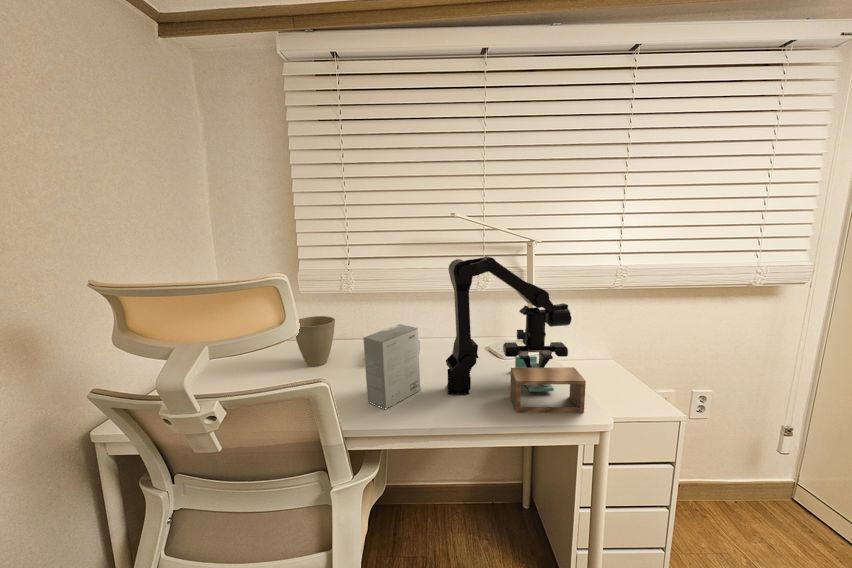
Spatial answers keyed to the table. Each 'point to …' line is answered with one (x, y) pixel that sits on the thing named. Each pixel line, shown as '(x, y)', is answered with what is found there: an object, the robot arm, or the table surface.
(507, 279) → the robot arm
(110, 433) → the table surface
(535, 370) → the shelf
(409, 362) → the hard drive box
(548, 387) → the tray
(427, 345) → the table surface
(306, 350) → the plant pot
